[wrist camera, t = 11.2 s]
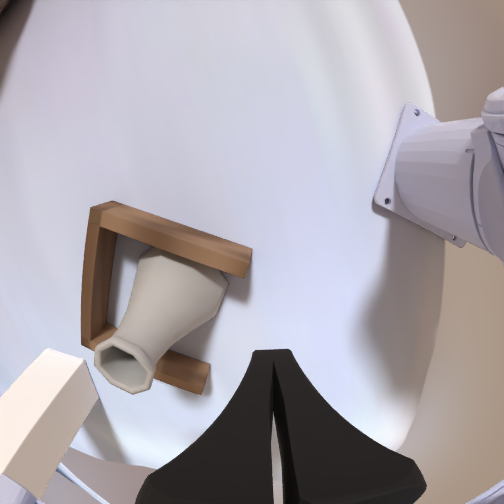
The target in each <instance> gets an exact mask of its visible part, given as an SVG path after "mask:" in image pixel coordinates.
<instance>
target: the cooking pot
mask: <svg viewBox="0 0 504 504" xmlns="http://www.w3.org/2000/svg"><path fill="white" fill-rule="evenodd" d="M11 2H12V0H0V16H1V14H2V13H3V12H4V11H5V10H6V9H7V7H8V6H9V5H10V3H11Z"/></svg>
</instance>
